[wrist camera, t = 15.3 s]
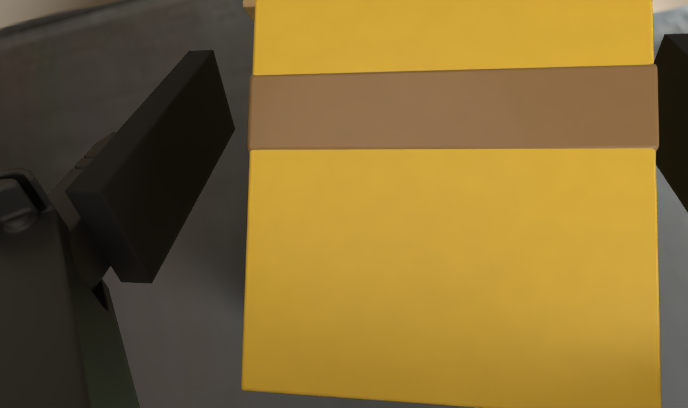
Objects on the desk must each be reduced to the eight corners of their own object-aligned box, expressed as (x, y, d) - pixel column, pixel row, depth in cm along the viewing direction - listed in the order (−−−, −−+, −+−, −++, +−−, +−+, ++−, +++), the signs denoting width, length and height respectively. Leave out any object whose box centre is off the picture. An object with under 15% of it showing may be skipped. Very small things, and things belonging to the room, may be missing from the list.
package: (347, 289, 18) (236, 391, 6) (351, 94, 19) (255, -147, 7) (492, 295, 18) (668, 423, 6) (492, 91, 18) (654, -186, 6)
